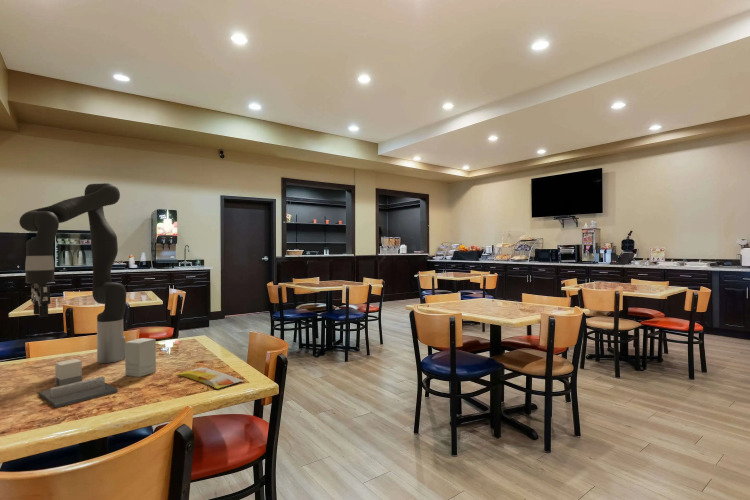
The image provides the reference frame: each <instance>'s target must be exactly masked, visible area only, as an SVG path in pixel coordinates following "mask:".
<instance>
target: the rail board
mask: <svg viewBox="0 0 750 500" xmlns="http://www.w3.org/2000/svg"><path fill="white" fill-rule="evenodd" d="M115 393H118V388H117V387H115V386H113V385H111V384H109V383H107V382H106V379H105V376H98V377H94V378H90V379H84V380H82V381H80V382H76V383H71V384H67V385H62V386H59V385H57V386H55V387H50V388H49V389H46V390H42V391H39V392H38V396H40V397H41V398H42V399H44V400H45V401H46V402H47V403H49V404H50V405H51V406H52V407H53V408H55V409H57V408H62V407H65V406H68V405H73V404H77V403H80V402H81V403H82V402H84V401H88V400H92V399H95V398H99V397H103V396H108V395H111V394H115Z"/></svg>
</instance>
